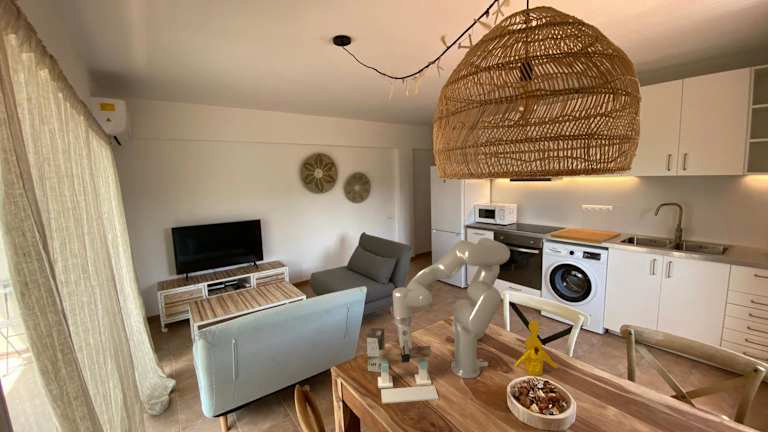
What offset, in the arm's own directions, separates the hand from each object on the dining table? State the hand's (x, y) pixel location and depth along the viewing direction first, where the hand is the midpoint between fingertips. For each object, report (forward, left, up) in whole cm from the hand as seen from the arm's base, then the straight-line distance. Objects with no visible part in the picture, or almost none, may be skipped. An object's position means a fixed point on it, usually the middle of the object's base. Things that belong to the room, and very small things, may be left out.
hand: (405, 358), depth 130 cm
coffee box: (+12, -12, -11) cm, 20 cm away
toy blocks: (-7, 0, -10) cm, 13 cm away
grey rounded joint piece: (-37, -31, -11) cm, 50 cm away
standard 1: (+9, 0, -10) cm, 13 cm away
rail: (0, 0, +1) cm, 1 cm away
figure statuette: (-56, -1, -11) cm, 57 cm away
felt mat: (0, +8, -10) cm, 13 cm away
